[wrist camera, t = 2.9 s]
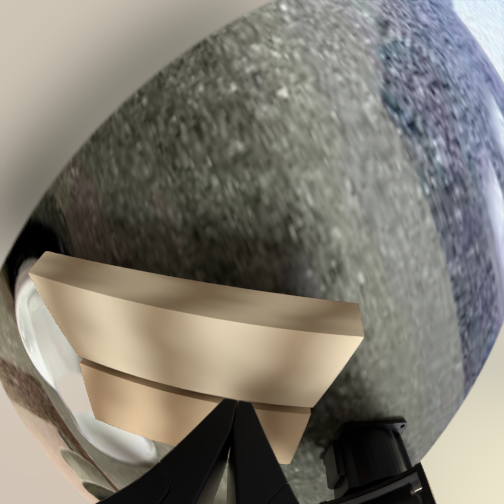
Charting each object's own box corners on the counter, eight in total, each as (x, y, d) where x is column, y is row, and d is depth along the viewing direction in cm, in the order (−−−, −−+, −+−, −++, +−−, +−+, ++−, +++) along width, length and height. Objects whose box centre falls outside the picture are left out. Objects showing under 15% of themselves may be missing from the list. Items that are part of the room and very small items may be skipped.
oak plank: (359, 303, 13) (364, 336, 11) (313, 383, 19) (313, 407, 17) (46, 250, 14) (27, 272, 12) (88, 336, 19) (78, 355, 18)
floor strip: (310, 391, 19) (312, 409, 17) (289, 447, 21) (289, 464, 19) (90, 346, 20) (78, 358, 18) (104, 406, 22) (95, 418, 20)
